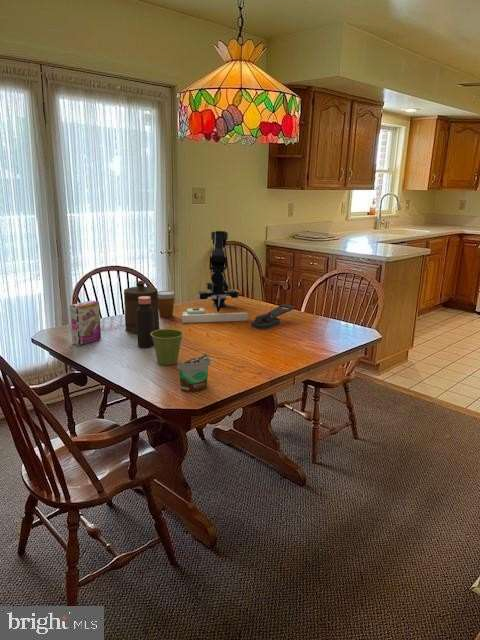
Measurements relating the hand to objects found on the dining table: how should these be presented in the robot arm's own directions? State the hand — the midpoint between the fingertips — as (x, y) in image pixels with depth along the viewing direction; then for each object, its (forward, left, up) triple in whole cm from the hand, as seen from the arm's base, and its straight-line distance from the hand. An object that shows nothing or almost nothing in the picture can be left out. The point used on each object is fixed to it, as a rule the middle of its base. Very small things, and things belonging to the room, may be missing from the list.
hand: (218, 311), depth 235 cm
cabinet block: (+1, -11, -4) cm, 11 cm away
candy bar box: (+29, -58, -4) cm, 65 cm away
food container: (+82, -17, -4) cm, 84 cm away
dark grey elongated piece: (+11, +25, -4) cm, 27 cm away
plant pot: (+57, -26, -4) cm, 62 cm away
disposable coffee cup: (-6, -25, -4) cm, 26 cm away
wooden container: (+14, -36, -4) cm, 39 cm away
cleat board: (+1, -2, -3) cm, 4 cm away
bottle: (+37, -34, -4) cm, 50 cm away
